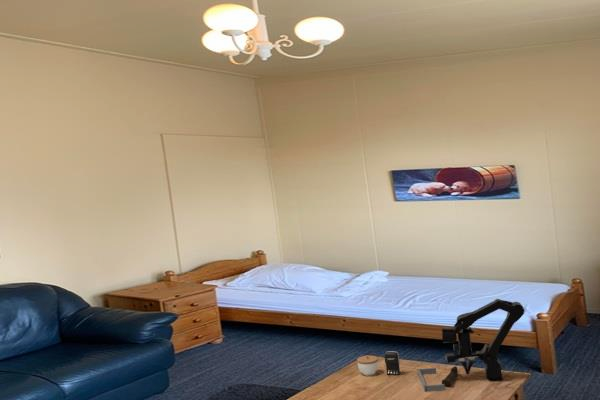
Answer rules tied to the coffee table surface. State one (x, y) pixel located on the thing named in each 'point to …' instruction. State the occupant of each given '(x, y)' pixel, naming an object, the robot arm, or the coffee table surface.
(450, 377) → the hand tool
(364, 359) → the lidded jar
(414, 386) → the coffee table surface
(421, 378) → the plate
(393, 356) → the battery charger
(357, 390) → the coffee table surface
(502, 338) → the robot arm
